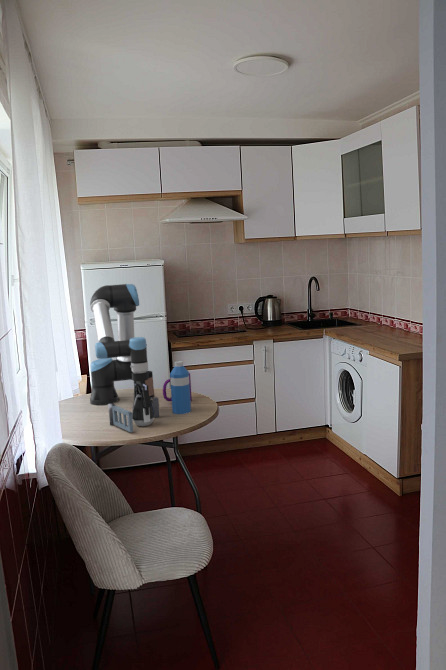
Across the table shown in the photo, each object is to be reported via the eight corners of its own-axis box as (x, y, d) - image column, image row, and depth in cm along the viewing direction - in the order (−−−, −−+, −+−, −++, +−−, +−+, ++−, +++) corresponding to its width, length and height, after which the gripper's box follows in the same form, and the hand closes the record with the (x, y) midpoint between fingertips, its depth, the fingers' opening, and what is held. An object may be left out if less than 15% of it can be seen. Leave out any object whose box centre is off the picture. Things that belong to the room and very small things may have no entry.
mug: (194, 401, 297) (193, 373, 295) (167, 406, 290) (165, 378, 288) (187, 398, 305) (185, 371, 303) (160, 403, 298) (158, 375, 296)
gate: (116, 423, 262) (115, 405, 261) (133, 431, 249) (132, 412, 247) (113, 424, 261) (112, 406, 260) (130, 432, 248) (128, 412, 246)
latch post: (146, 417, 273) (145, 397, 271) (157, 415, 275) (155, 396, 274) (149, 419, 270) (147, 399, 268) (159, 417, 272) (158, 397, 271)
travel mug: (152, 413, 279) (149, 373, 276) (137, 413, 280) (134, 373, 278) (157, 409, 286) (154, 370, 283) (142, 409, 288) (140, 370, 285)
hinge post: (109, 424, 264) (107, 403, 263) (115, 423, 265) (113, 402, 264) (110, 425, 262) (109, 404, 260) (116, 424, 263) (115, 403, 261)
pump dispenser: (128, 427, 257) (126, 395, 255) (138, 421, 267) (135, 389, 265) (149, 428, 254) (147, 395, 252) (158, 421, 264) (156, 390, 262)
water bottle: (179, 408, 286) (176, 359, 282) (194, 410, 281) (191, 360, 278) (168, 413, 278) (165, 363, 274) (184, 415, 273) (181, 364, 270)
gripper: (124, 368, 266) (128, 414, 269) (139, 376, 245) (143, 426, 249) (140, 366, 269) (143, 412, 272) (156, 374, 249) (159, 423, 252)
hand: (143, 418), depth 260 cm, fingers closed on pump dispenser, 10 cm apart
